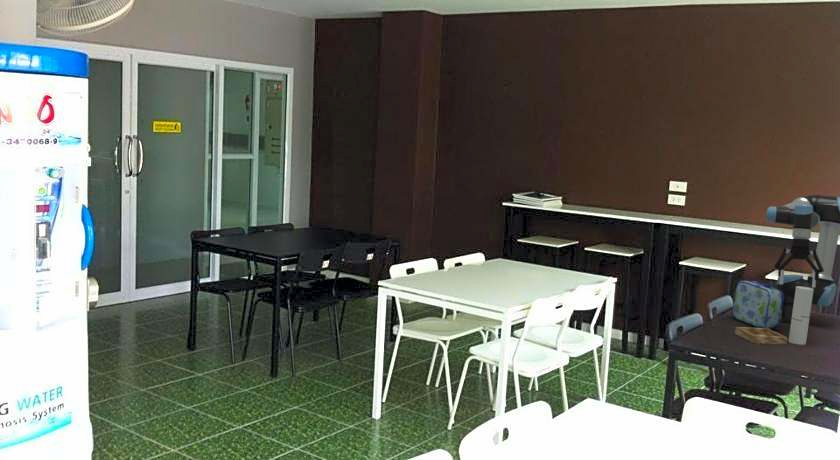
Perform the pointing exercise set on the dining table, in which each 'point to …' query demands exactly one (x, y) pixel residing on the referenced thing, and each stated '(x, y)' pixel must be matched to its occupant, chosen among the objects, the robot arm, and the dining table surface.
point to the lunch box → (758, 304)
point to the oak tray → (761, 335)
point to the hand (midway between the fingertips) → (797, 286)
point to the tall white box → (800, 315)
